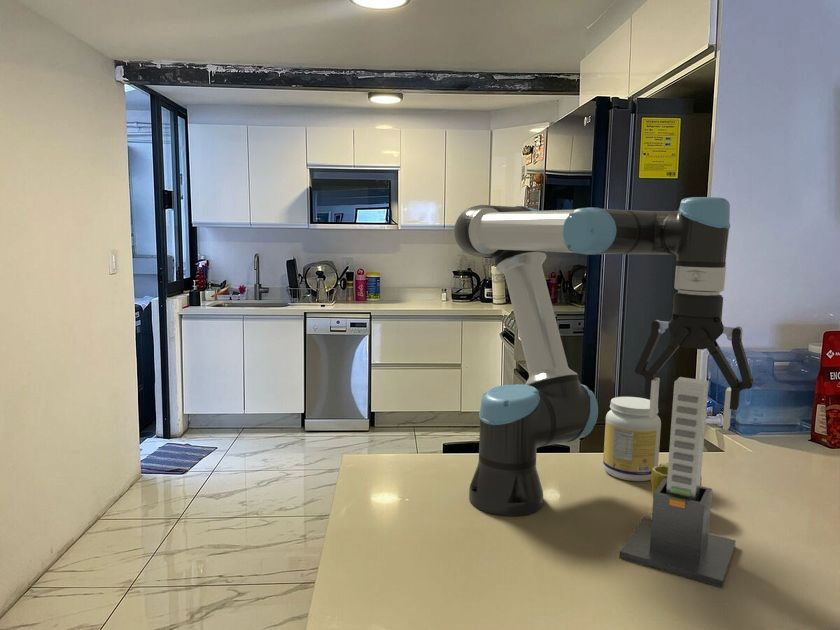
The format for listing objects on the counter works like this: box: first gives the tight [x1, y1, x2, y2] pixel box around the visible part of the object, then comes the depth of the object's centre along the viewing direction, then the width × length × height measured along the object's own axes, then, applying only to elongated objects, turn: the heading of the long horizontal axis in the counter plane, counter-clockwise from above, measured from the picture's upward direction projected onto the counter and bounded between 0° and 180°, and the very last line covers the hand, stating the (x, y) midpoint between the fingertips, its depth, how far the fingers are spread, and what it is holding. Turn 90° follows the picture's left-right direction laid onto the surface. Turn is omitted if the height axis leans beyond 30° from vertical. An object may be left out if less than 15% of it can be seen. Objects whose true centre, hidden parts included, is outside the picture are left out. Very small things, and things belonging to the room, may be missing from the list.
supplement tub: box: [602, 396, 662, 482], centre depth 145 cm, size 12×12×17 cm
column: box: [666, 376, 710, 502], centre depth 107 cm, size 5×5×22 cm
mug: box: [650, 462, 703, 496], centre depth 128 cm, size 12×10×10 cm
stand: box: [619, 478, 736, 589], centre depth 109 cm, size 16×16×11 cm
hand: (688, 421), depth 106 cm, fingers open, 11 cm apart
